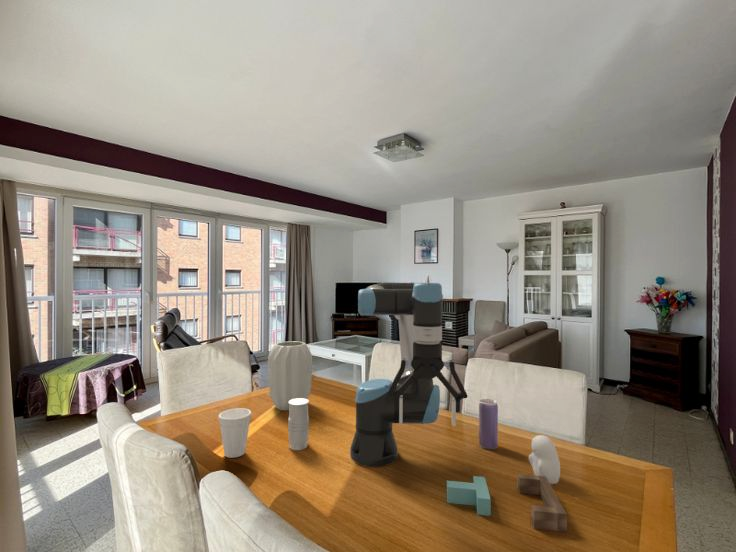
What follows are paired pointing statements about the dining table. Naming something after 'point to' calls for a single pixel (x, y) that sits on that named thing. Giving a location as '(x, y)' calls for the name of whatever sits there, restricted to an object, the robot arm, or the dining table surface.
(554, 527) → the bracket
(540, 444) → the figurine
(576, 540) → the dining table surface
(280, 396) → the vase
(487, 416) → the beverage can
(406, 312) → the robot arm
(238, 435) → the cup
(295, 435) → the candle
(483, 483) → the t block
